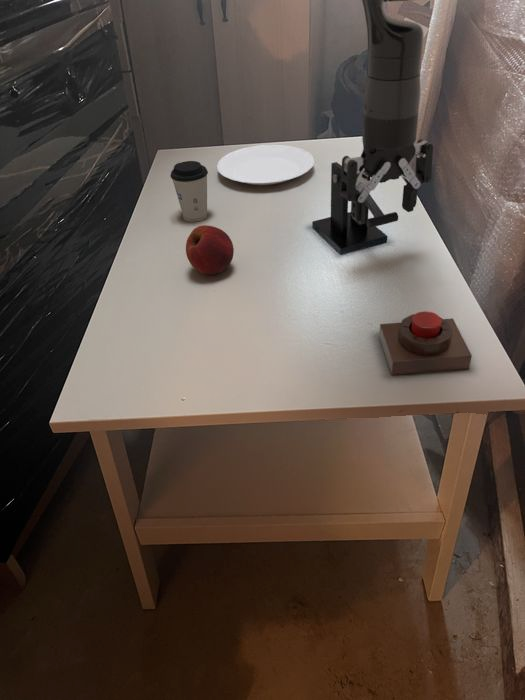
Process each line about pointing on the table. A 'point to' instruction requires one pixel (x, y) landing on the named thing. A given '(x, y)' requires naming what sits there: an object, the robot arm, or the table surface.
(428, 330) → the button
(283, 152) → the plate
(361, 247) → the lever stand
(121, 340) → the table surface
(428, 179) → the robot arm
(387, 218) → the black lever
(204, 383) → the table surface
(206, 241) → the apple
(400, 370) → the control block
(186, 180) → the coffee cup
